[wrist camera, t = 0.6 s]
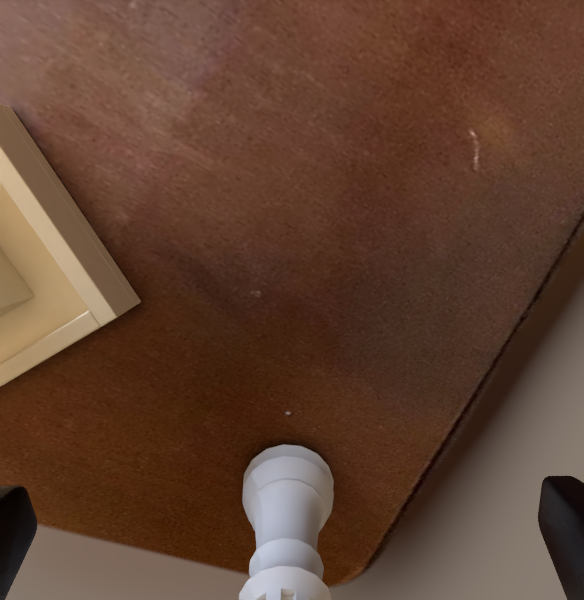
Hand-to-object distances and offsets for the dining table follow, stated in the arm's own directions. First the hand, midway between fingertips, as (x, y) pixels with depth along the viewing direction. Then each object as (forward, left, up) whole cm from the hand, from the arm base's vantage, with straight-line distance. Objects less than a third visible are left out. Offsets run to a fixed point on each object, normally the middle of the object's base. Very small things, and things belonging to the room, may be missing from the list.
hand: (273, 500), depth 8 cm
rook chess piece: (-4, -7, -13) cm, 15 cm away
